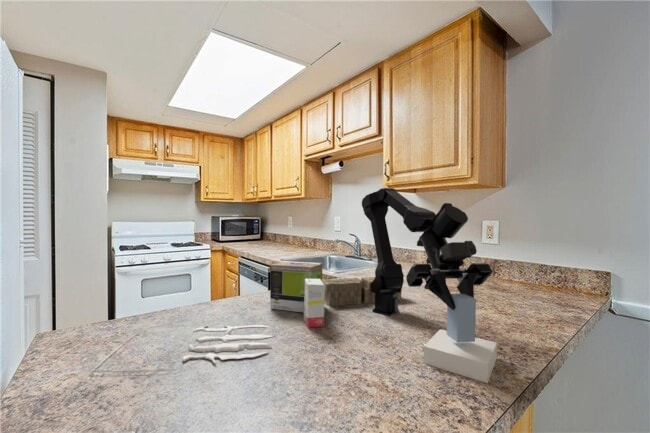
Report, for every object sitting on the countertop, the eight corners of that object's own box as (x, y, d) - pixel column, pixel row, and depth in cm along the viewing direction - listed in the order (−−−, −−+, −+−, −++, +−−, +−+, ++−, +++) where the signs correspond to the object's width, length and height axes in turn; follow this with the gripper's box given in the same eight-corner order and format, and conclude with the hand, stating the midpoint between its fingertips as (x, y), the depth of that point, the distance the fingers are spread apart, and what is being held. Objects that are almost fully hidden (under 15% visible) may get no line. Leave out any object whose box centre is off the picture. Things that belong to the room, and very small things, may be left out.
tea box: (322, 305, 102) (323, 262, 101) (312, 315, 92) (312, 267, 92) (283, 300, 106) (283, 259, 106) (269, 309, 97) (269, 263, 97)
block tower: (390, 297, 117) (319, 300, 108) (391, 275, 117) (320, 277, 108) (401, 303, 109) (325, 306, 101) (402, 280, 109) (326, 281, 101)
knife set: (273, 367, 60) (273, 362, 60) (82, 378, 56) (82, 371, 56) (275, 324, 86) (275, 320, 86) (145, 328, 81) (145, 324, 81)
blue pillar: (457, 342, 62) (458, 299, 62) (446, 334, 66) (447, 293, 66) (474, 341, 62) (475, 298, 62) (463, 333, 66) (464, 293, 66)
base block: (423, 365, 63) (423, 346, 63) (439, 345, 72) (440, 329, 72) (487, 385, 56) (487, 364, 56) (496, 360, 65) (496, 342, 65)
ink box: (324, 327, 82) (325, 284, 82) (306, 328, 81) (307, 284, 81) (319, 316, 90) (320, 277, 90) (303, 317, 90) (304, 278, 90)
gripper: (412, 228, 67) (436, 289, 56) (488, 228, 70) (525, 287, 59) (398, 257, 75) (417, 316, 64) (466, 257, 78) (496, 314, 67)
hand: (463, 308), depth 63 cm, fingers closed on blue pillar, 4 cm apart
